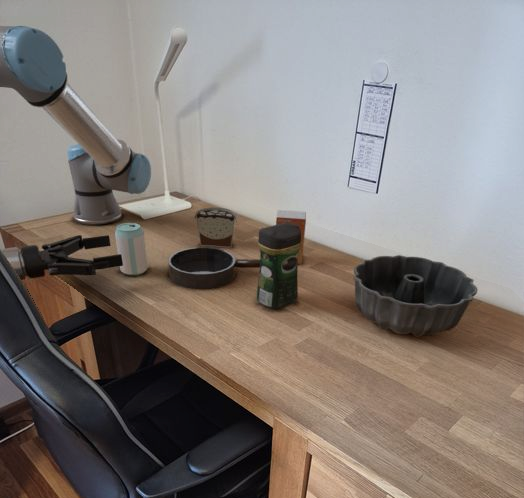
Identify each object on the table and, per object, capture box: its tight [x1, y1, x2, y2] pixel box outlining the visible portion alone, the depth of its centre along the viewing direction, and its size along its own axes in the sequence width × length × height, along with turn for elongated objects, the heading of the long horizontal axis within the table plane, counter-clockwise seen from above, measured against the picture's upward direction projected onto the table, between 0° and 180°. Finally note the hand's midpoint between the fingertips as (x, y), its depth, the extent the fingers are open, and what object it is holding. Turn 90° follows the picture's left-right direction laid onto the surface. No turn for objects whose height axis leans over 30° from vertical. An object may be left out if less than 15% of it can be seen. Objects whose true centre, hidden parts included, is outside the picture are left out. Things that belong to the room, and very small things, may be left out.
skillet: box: [167, 246, 236, 290], centre depth 119 cm, size 17×17×4 cm
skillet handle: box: [235, 258, 260, 269], centre depth 120 cm, size 13×2×2 cm, turn 95°
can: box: [114, 222, 149, 276], centre depth 117 cm, size 7×7×12 cm
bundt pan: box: [352, 254, 478, 338], centre depth 103 cm, size 26×26×10 cm
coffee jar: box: [256, 222, 301, 310], centre depth 104 cm, size 10×8×19 cm
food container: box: [194, 207, 238, 249], centre depth 136 cm, size 12×6×10 cm, turn 84°
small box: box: [275, 209, 307, 265], centre depth 127 cm, size 8×6×13 cm
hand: (115, 249), depth 115 cm, fingers open, 13 cm apart
